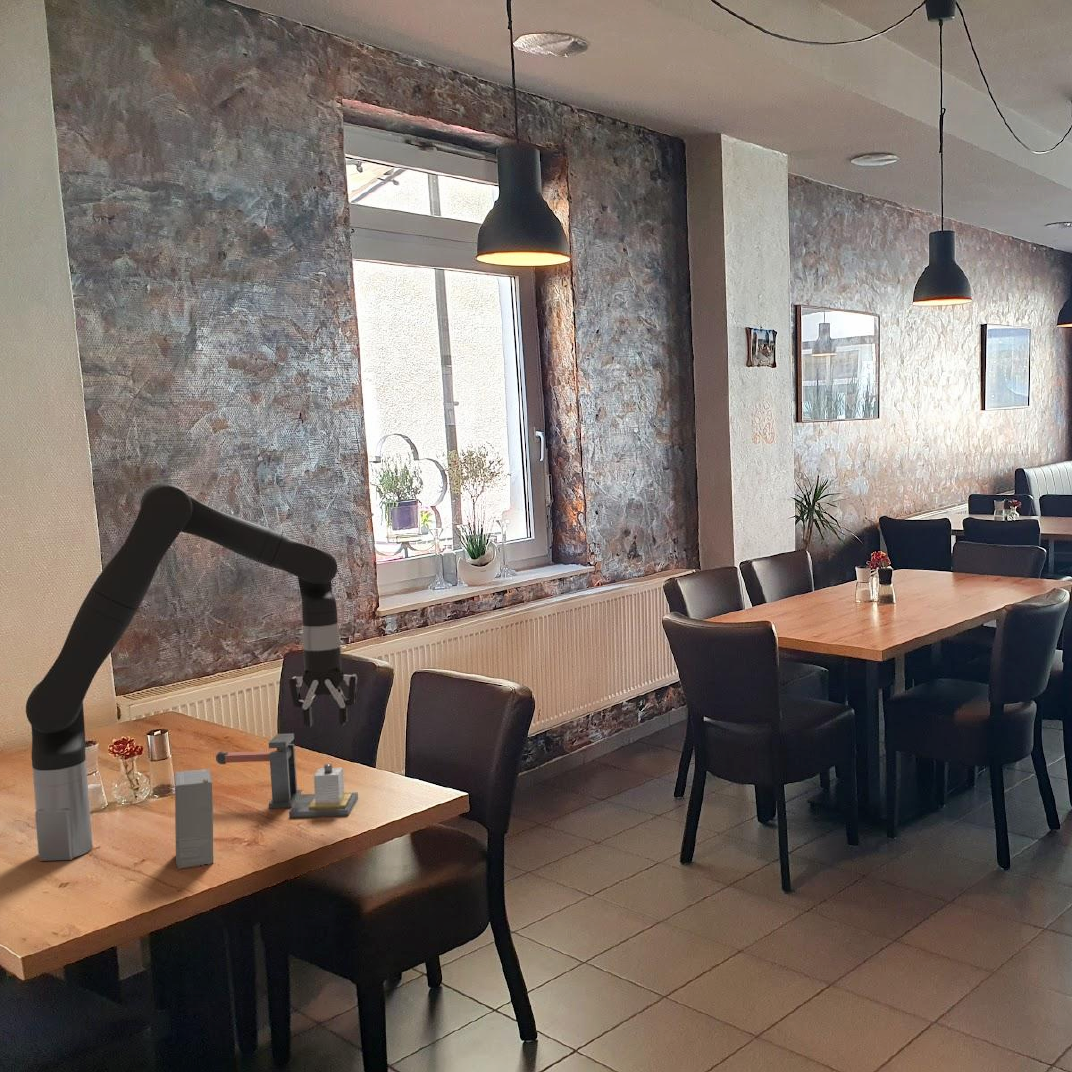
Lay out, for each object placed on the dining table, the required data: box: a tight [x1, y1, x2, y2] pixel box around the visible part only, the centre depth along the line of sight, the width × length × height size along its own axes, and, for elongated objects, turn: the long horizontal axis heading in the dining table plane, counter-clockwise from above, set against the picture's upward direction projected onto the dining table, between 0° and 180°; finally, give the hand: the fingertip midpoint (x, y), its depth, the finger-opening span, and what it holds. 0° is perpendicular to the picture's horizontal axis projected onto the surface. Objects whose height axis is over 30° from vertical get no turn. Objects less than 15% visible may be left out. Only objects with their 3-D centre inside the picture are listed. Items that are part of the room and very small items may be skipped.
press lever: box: [215, 747, 292, 765], centre depth 222 cm, size 4×16×3 cm, turn 89°
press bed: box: [268, 732, 359, 819], centre depth 219 cm, size 15×18×14 cm
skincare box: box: [173, 768, 214, 870], centre depth 191 cm, size 8×7×16 cm
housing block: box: [313, 763, 345, 804], centre depth 216 cm, size 5×5×7 cm
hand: (326, 725), depth 215 cm, fingers open, 6 cm apart
